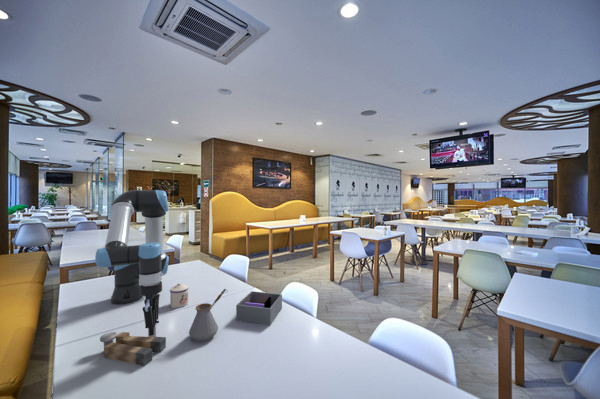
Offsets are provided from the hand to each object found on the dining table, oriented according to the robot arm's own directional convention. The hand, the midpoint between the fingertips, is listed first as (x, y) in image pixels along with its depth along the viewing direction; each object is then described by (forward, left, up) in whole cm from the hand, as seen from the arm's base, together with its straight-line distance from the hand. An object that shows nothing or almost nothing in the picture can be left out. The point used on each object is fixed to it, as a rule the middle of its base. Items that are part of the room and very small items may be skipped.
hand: (152, 341), depth 99 cm
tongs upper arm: (-5, -5, -2) cm, 7 cm away
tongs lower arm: (-4, -8, -2) cm, 9 cm away
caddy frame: (+31, +34, -2) cm, 46 cm away
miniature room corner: (+30, +36, -2) cm, 47 cm away
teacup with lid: (-16, +35, -2) cm, 38 cm away
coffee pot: (+16, +15, -2) cm, 22 cm away
